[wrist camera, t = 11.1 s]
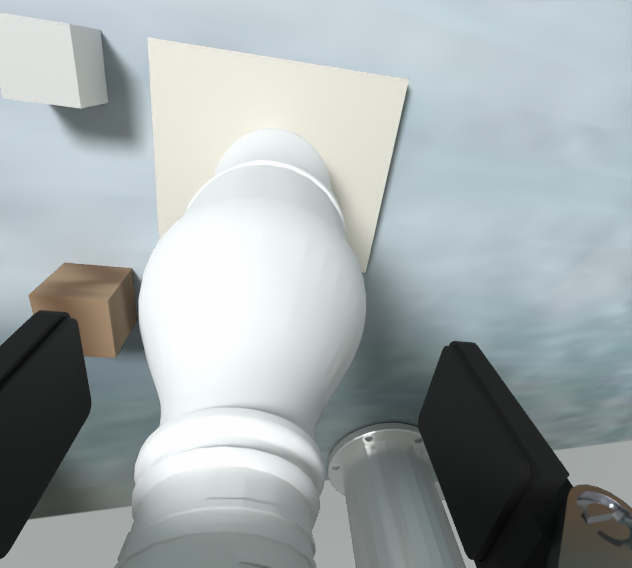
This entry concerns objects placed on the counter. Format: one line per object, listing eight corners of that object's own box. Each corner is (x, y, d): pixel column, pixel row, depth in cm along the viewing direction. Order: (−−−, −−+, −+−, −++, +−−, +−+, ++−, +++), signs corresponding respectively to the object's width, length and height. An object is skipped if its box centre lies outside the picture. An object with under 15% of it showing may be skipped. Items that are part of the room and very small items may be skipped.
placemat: (404, 78, 26) (408, 79, 25) (363, 267, 32) (365, 272, 32) (152, 38, 24) (147, 37, 23) (163, 248, 30) (159, 254, 29)
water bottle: (307, 237, 30) (351, 717, 8) (213, 208, 28) (-54, 701, 6) (341, 144, 26) (575, 515, 5) (237, 105, 25) (-136, 390, 3)
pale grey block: (101, 29, 23) (69, 23, 20) (108, 102, 25) (81, 108, 22) (28, 18, 23) (-17, 9, 19) (42, 93, 25) (2, 98, 21)
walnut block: (132, 267, 31) (107, 300, 27) (137, 319, 33) (115, 357, 29) (65, 262, 30) (28, 295, 26) (75, 315, 33) (43, 353, 28)
